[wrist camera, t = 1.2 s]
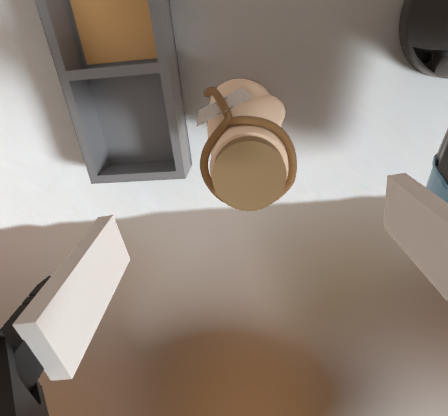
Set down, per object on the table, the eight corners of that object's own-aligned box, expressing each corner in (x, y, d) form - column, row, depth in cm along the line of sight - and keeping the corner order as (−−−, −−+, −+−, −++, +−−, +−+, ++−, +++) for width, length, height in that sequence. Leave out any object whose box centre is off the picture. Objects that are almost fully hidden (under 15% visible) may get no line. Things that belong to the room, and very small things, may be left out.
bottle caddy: (158, -73, 36) (143, -95, 30) (191, 164, 49) (185, 178, 44) (45, -57, 37) (11, -76, 32) (107, 169, 50) (91, 183, 45)
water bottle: (197, 102, 44) (136, 163, 20) (240, 54, 41) (233, 53, 16) (245, 151, 47) (244, 257, 22) (289, 109, 44) (346, 179, 19)
